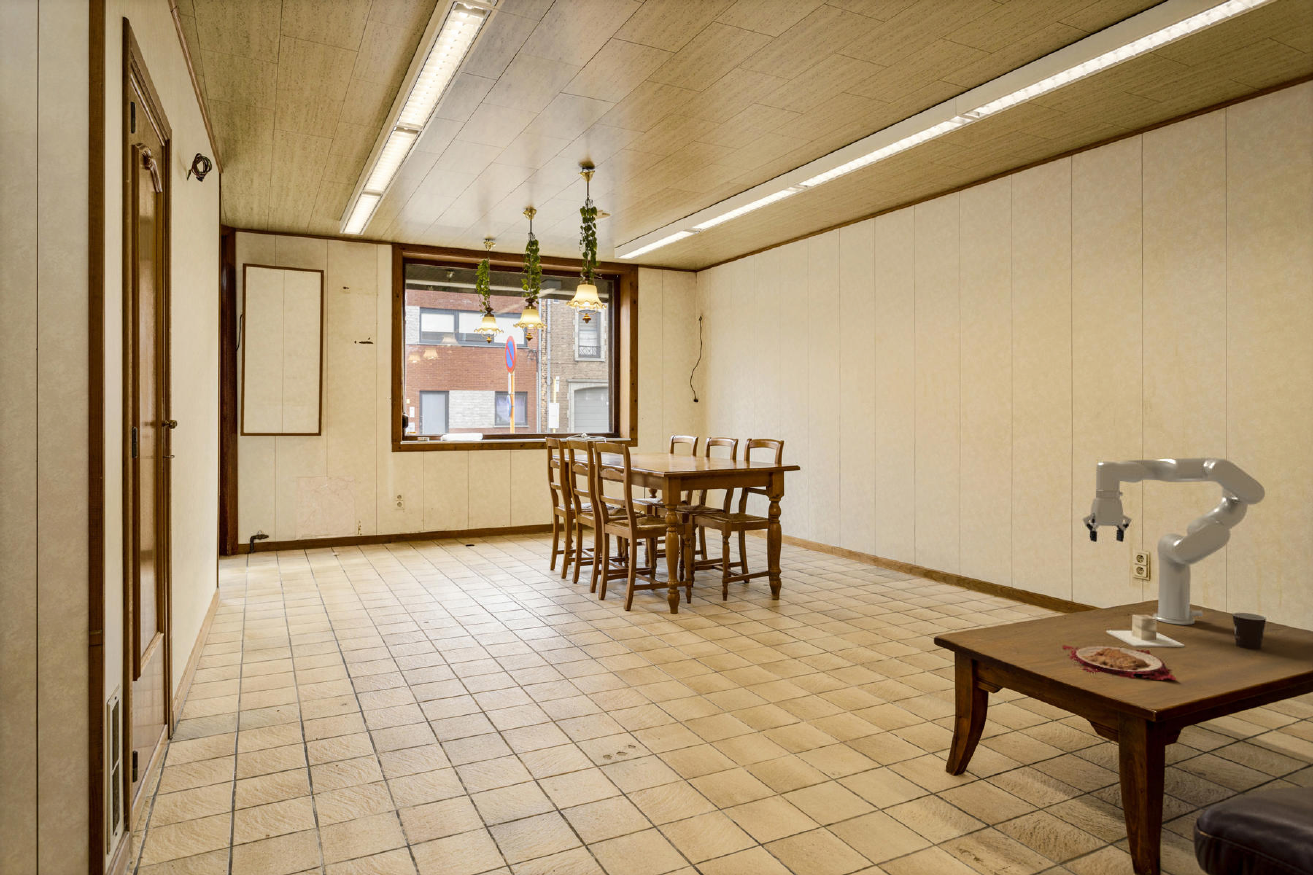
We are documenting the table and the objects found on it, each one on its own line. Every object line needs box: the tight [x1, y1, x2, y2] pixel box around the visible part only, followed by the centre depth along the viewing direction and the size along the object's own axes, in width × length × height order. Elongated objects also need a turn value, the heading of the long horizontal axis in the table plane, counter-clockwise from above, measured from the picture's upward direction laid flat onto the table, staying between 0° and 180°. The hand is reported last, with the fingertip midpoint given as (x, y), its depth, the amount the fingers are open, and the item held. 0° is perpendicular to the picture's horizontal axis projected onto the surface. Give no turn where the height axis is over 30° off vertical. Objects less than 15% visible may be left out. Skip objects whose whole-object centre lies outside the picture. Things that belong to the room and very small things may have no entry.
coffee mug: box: [1232, 612, 1267, 651], centre depth 250 cm, size 12×9×10 cm
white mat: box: [1106, 630, 1185, 648], centre depth 258 cm, size 16×16×1 cm
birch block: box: [1131, 614, 1158, 640], centre depth 257 cm, size 5×5×7 cm
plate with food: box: [1062, 645, 1177, 681], centre depth 233 cm, size 25×26×4 cm
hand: (1106, 541), depth 284 cm, fingers open, 9 cm apart
